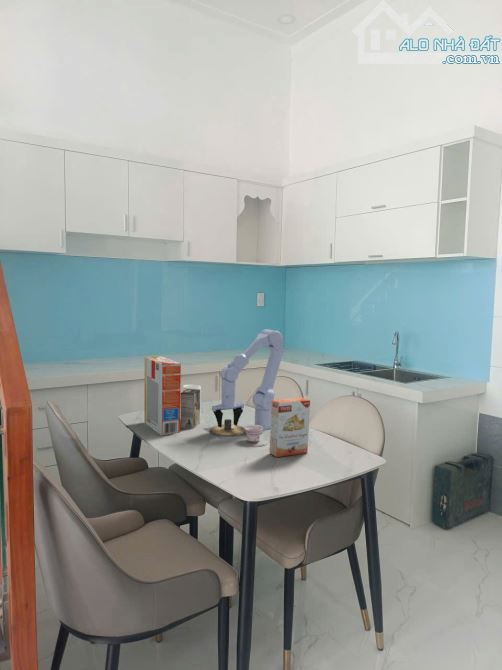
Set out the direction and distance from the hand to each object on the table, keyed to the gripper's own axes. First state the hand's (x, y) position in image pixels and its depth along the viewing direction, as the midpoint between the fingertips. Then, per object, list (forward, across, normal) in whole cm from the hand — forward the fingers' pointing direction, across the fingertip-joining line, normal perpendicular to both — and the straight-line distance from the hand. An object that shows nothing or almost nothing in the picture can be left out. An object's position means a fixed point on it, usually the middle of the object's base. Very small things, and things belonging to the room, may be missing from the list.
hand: (227, 425), depth 221 cm
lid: (+2, 0, 0) cm, 2 cm away
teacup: (+3, -3, +17) cm, 18 cm away
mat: (+3, 0, 0) cm, 3 cm away
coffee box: (+3, +11, -15) cm, 19 cm away
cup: (+3, +6, -25) cm, 26 cm away
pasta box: (+3, +23, -18) cm, 30 cm away
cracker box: (+3, -8, +35) cm, 36 cm away
